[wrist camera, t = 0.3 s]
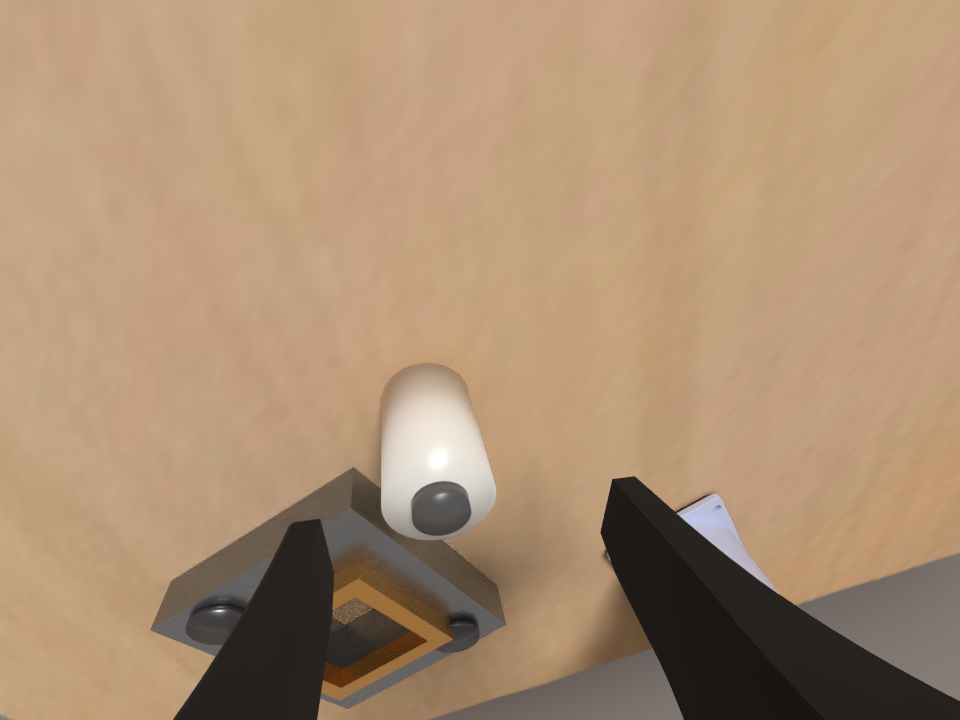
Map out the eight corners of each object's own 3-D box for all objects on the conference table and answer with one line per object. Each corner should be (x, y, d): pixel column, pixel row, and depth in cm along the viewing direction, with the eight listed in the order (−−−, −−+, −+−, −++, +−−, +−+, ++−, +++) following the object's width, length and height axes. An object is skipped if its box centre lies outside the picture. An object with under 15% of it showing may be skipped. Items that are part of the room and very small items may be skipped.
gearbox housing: (497, 586, 29) (509, 641, 26) (350, 666, 31) (346, 727, 28) (353, 467, 22) (349, 526, 19) (171, 581, 23) (140, 652, 21)
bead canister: (484, 405, 21) (520, 516, 16) (415, 447, 22) (427, 569, 16) (436, 347, 19) (459, 452, 14) (362, 395, 20) (355, 515, 14)
